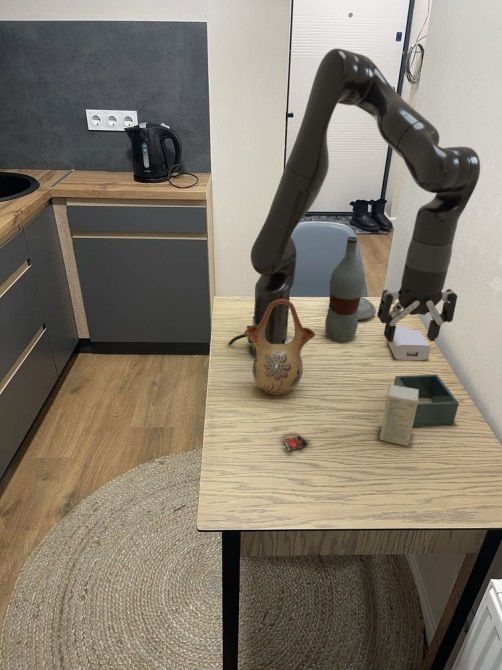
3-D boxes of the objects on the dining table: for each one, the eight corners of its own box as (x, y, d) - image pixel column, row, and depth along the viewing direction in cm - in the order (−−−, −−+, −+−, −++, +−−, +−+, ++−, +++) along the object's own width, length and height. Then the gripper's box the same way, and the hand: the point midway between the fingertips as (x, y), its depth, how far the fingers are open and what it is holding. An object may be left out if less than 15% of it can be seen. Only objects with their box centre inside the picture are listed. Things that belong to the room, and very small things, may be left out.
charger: (412, 333, 149) (427, 360, 136) (381, 333, 149) (394, 359, 136) (415, 319, 147) (431, 345, 134) (384, 319, 147) (397, 344, 134)
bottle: (360, 334, 148) (375, 237, 133) (348, 347, 141) (362, 246, 126) (331, 325, 152) (343, 230, 138) (318, 337, 145) (329, 239, 131)
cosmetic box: (409, 434, 109) (420, 389, 103) (408, 447, 105) (419, 401, 99) (380, 427, 111) (389, 382, 105) (378, 440, 107) (387, 394, 101)
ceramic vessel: (307, 380, 126) (316, 290, 114) (311, 402, 118) (321, 308, 106) (243, 379, 126) (244, 289, 113) (242, 401, 118) (244, 306, 106)
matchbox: (309, 444, 105) (310, 443, 105) (291, 454, 102) (291, 452, 102) (295, 432, 108) (295, 431, 108) (277, 441, 106) (277, 439, 105)
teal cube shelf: (409, 426, 111) (414, 405, 108) (391, 396, 121) (395, 376, 118) (453, 424, 112) (459, 403, 109) (431, 394, 122) (437, 374, 119)
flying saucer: (365, 327, 152) (367, 311, 149) (320, 315, 158) (322, 299, 156) (381, 309, 163) (384, 294, 160) (339, 298, 170) (341, 283, 167)
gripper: (454, 255, 94) (436, 329, 102) (382, 255, 93) (369, 331, 101) (474, 270, 88) (452, 348, 96) (396, 271, 86) (381, 350, 94)
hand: (409, 339), depth 98 cm, fingers open, 8 cm apart
